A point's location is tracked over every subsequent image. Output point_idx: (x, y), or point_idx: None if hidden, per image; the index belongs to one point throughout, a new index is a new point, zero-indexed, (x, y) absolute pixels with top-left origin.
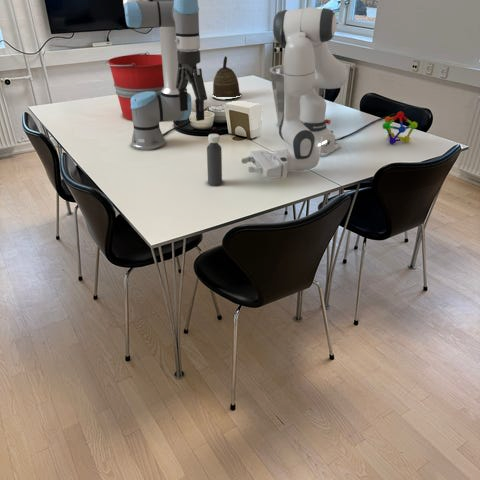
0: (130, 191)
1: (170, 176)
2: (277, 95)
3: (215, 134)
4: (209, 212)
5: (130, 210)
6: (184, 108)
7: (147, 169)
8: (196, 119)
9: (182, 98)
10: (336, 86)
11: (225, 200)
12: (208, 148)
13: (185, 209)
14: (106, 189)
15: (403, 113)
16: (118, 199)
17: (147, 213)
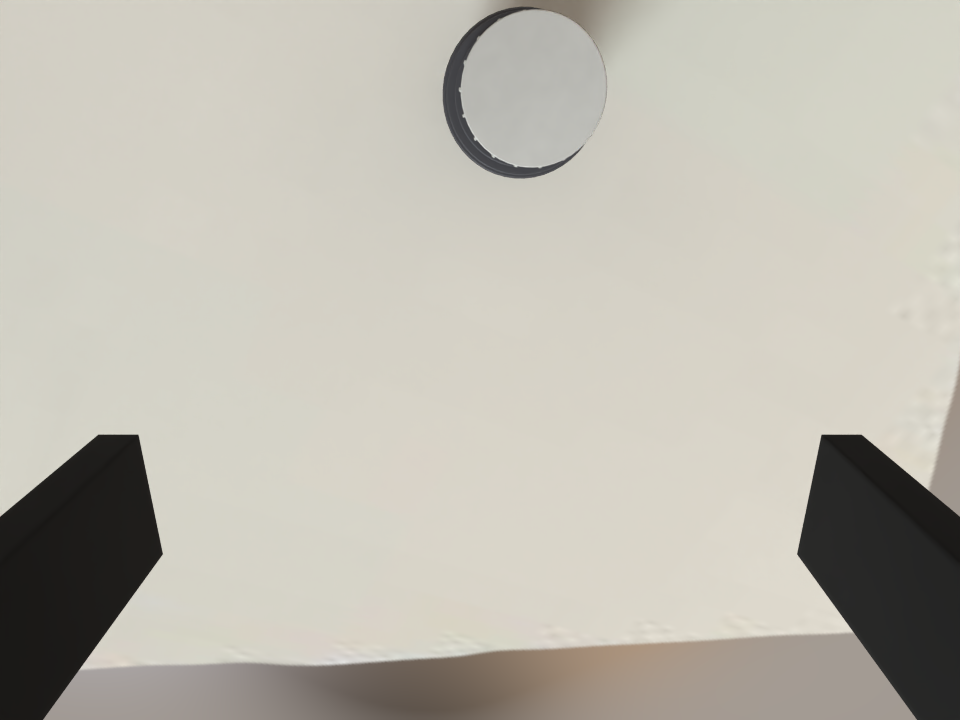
0: (373, 569)
1: (266, 324)
2: None
3: (507, 47)
4: (831, 323)
5: (574, 622)
6: (130, 517)
7: (100, 407)
8: (816, 566)
9: (2, 705)
10: None
11: (769, 170)
12: (531, 173)
13: (720, 415)
14: (297, 650)
15: None
16: (435, 634)
17: (646, 573)
